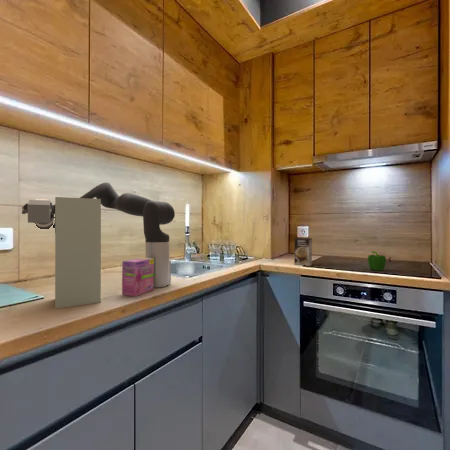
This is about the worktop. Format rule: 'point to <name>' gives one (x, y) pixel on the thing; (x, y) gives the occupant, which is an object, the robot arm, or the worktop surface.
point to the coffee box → (303, 251)
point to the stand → (77, 251)
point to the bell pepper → (376, 261)
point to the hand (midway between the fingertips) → (41, 203)
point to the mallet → (38, 211)
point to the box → (137, 276)
